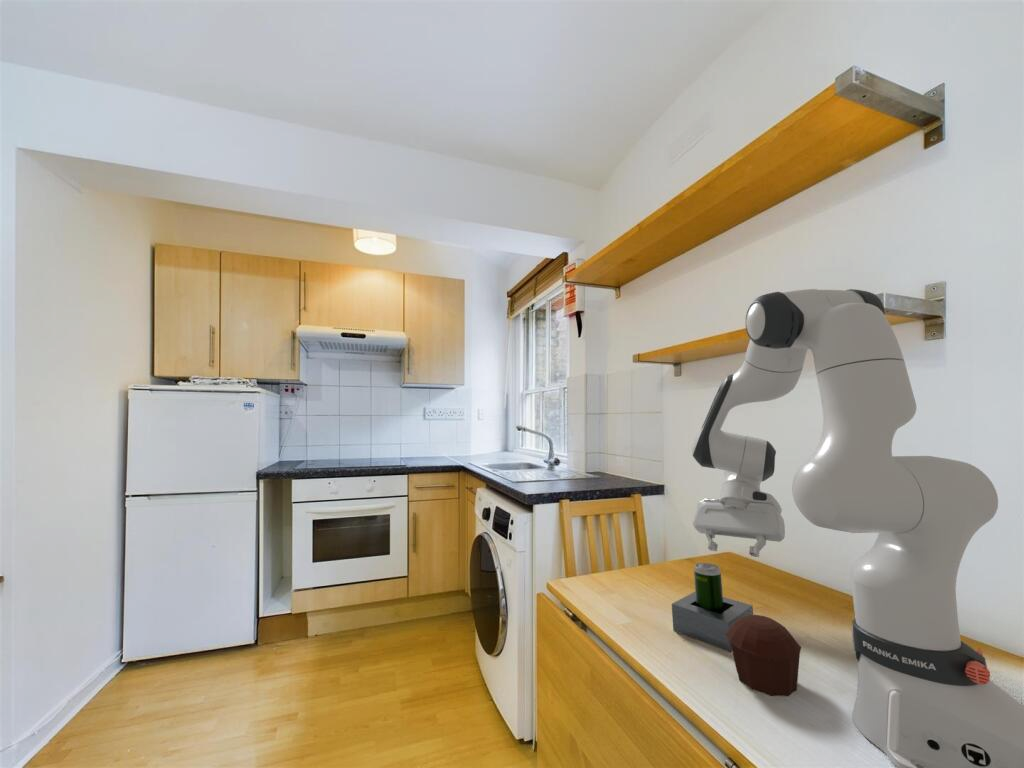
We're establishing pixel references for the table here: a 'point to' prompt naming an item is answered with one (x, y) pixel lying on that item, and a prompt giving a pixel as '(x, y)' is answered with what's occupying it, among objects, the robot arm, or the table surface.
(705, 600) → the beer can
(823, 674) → the table surface
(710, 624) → the holder block
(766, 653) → the muffin
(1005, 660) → the table surface
